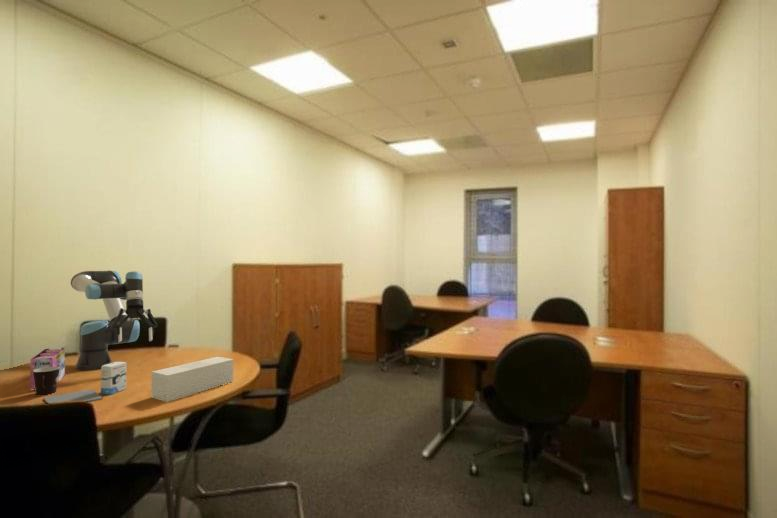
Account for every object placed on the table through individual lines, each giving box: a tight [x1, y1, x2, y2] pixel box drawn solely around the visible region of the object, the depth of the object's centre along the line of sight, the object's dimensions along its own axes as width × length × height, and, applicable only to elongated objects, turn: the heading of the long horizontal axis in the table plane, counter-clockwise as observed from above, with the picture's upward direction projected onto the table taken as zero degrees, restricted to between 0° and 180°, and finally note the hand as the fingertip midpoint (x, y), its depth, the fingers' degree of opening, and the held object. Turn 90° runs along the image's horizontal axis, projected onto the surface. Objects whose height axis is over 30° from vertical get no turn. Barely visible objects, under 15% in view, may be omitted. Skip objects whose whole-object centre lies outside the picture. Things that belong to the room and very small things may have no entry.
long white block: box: [150, 356, 234, 403], centre depth 183 cm, size 32×11×11 cm, turn 150°
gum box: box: [29, 347, 66, 390], centre depth 191 cm, size 24×8×14 cm, turn 26°
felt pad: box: [43, 388, 103, 403], centre depth 168 cm, size 16×16×1 cm
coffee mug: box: [33, 367, 60, 396], centre depth 174 cm, size 12×9×10 cm
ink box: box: [100, 361, 127, 396], centre depth 179 cm, size 8×5×12 cm, turn 168°
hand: (135, 340), depth 208 cm, fingers open, 13 cm apart
